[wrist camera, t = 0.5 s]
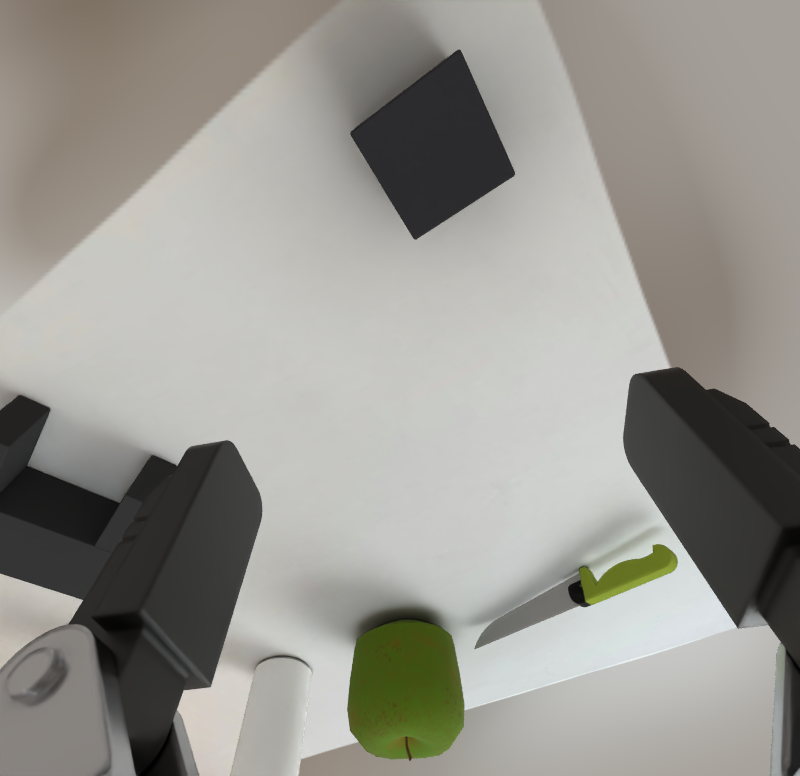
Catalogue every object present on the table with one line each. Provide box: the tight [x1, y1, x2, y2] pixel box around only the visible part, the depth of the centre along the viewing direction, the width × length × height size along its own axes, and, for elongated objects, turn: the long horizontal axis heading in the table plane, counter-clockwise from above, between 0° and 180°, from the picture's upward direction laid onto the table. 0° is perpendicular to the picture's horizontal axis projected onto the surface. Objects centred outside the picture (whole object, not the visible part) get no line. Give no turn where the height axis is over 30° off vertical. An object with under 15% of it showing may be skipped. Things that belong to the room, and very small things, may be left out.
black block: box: [350, 50, 515, 239], centre depth 20 cm, size 5×5×4 cm
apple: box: [347, 620, 464, 760], centre depth 42 cm, size 11×11×11 cm
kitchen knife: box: [475, 544, 678, 649], centre depth 42 cm, size 22×1×3 cm, turn 138°
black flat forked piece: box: [0, 395, 177, 600], centre depth 33 cm, size 14×11×4 cm
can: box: [230, 657, 312, 776], centre depth 46 cm, size 6×6×12 cm
